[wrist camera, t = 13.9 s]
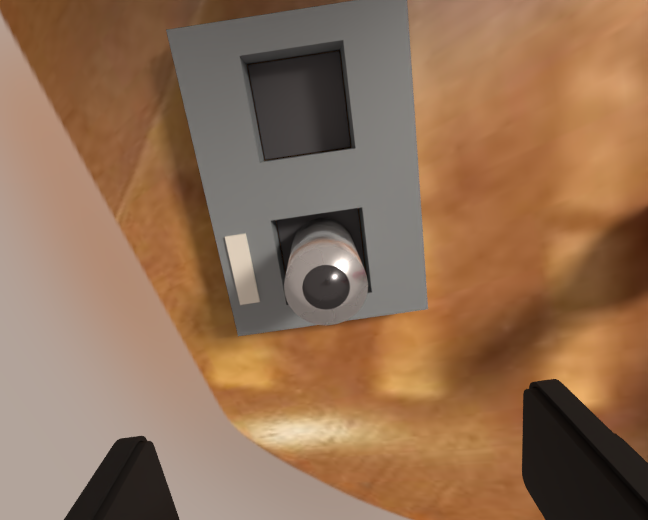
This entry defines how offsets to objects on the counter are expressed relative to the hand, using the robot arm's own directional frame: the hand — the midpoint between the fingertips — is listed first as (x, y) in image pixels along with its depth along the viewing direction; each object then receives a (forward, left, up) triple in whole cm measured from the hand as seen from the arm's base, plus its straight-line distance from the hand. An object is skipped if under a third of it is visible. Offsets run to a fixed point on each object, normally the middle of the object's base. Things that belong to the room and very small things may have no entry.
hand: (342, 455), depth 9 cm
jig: (-5, 0, -20) cm, 21 cm away
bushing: (0, 0, -20) cm, 20 cm away
